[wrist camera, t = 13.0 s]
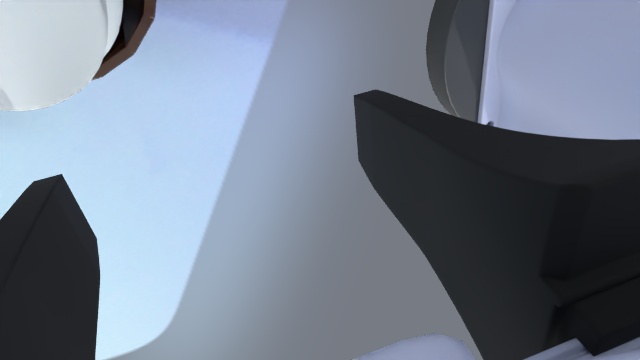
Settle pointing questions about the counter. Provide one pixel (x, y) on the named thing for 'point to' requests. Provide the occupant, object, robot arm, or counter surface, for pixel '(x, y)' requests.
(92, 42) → the pill bottle
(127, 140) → the counter surface
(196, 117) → the counter surface
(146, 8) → the cup
